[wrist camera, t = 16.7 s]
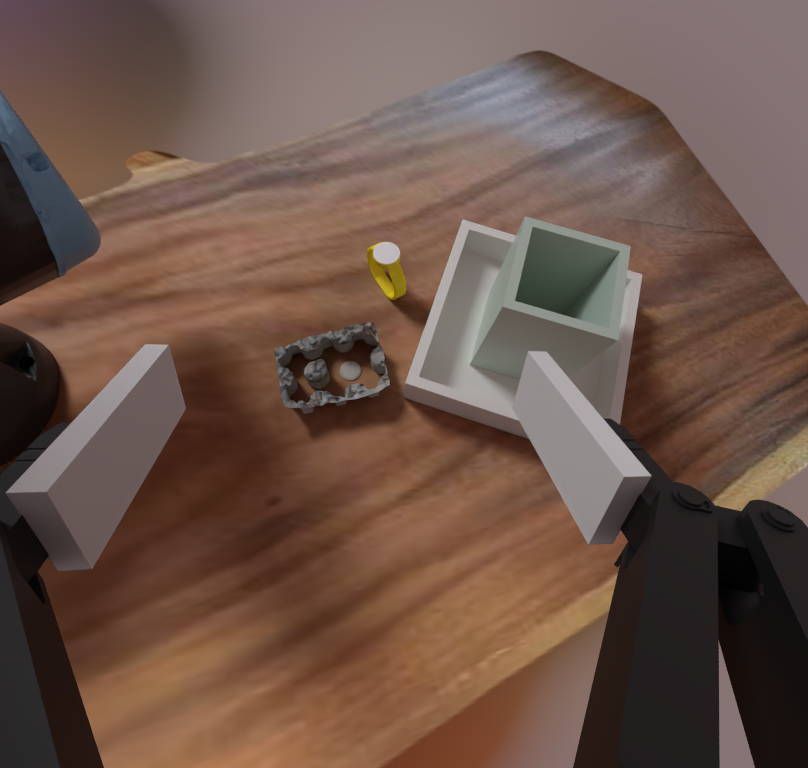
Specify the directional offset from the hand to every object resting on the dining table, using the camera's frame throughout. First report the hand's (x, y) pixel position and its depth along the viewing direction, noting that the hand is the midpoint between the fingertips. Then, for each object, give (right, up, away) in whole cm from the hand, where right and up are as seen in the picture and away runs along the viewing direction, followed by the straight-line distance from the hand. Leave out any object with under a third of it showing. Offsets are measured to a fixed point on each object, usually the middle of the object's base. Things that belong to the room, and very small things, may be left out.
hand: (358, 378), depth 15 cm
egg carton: (-5, +1, +27) cm, 27 cm away
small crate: (+14, +5, +28) cm, 32 cm away
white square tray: (+14, +4, +29) cm, 32 cm away
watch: (0, +11, +30) cm, 32 cm away
